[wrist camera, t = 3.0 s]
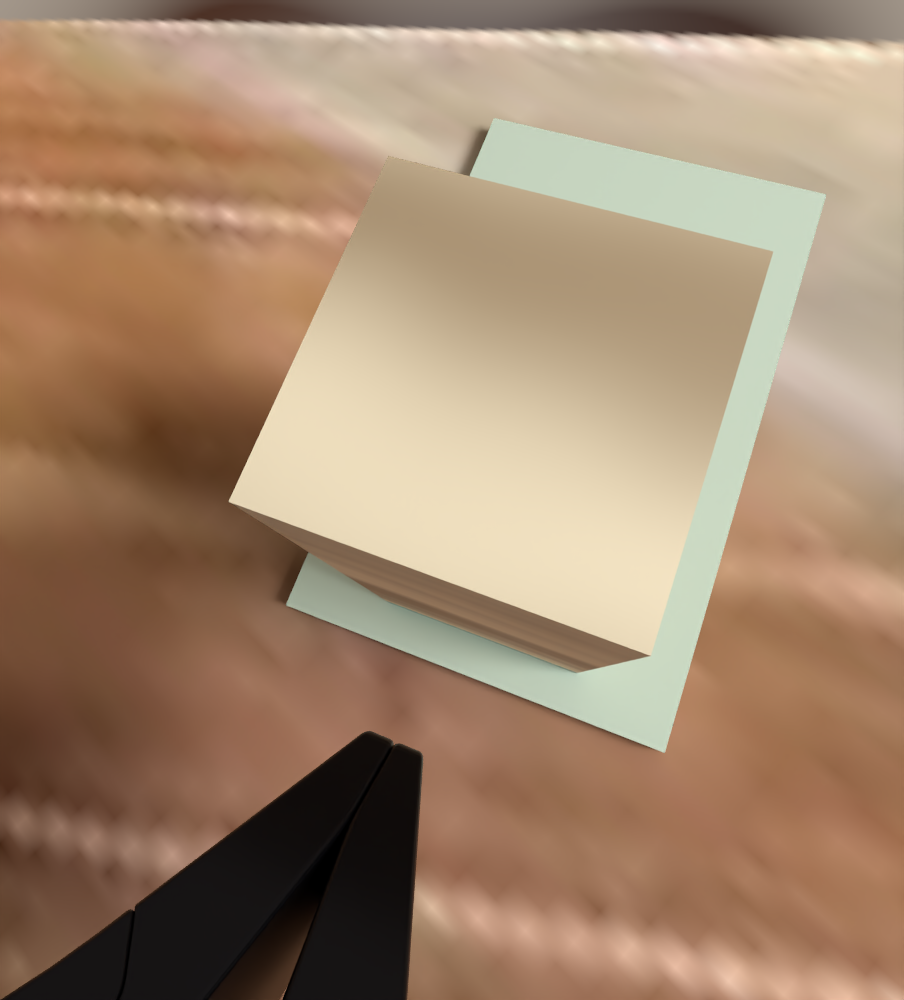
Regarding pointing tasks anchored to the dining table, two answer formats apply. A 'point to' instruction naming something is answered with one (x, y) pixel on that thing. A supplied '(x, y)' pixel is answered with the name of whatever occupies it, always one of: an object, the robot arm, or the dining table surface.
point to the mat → (661, 677)
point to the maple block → (508, 411)
